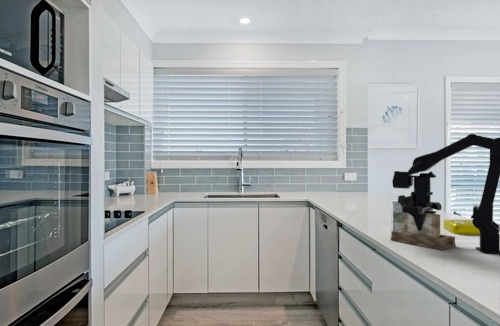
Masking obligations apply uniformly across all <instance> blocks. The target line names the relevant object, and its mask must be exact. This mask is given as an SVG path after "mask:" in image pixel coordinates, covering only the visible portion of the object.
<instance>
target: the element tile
mask: <svg viewBox="0 0 500 326" xmlns="http://www.w3.org/2000/svg"><path fill="white" fill-rule="evenodd" d="M472 220H473V219H448V218H447V219H446V218H445V219H444V220H443V229H444V230H446V231H448V232H449V233H451V234H453V233H454V235H465V236H466V235H469V236H471V235H473V236H480V231H479V229H477V228H476V227H475V226H474V225H473V222H472Z"/></svg>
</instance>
